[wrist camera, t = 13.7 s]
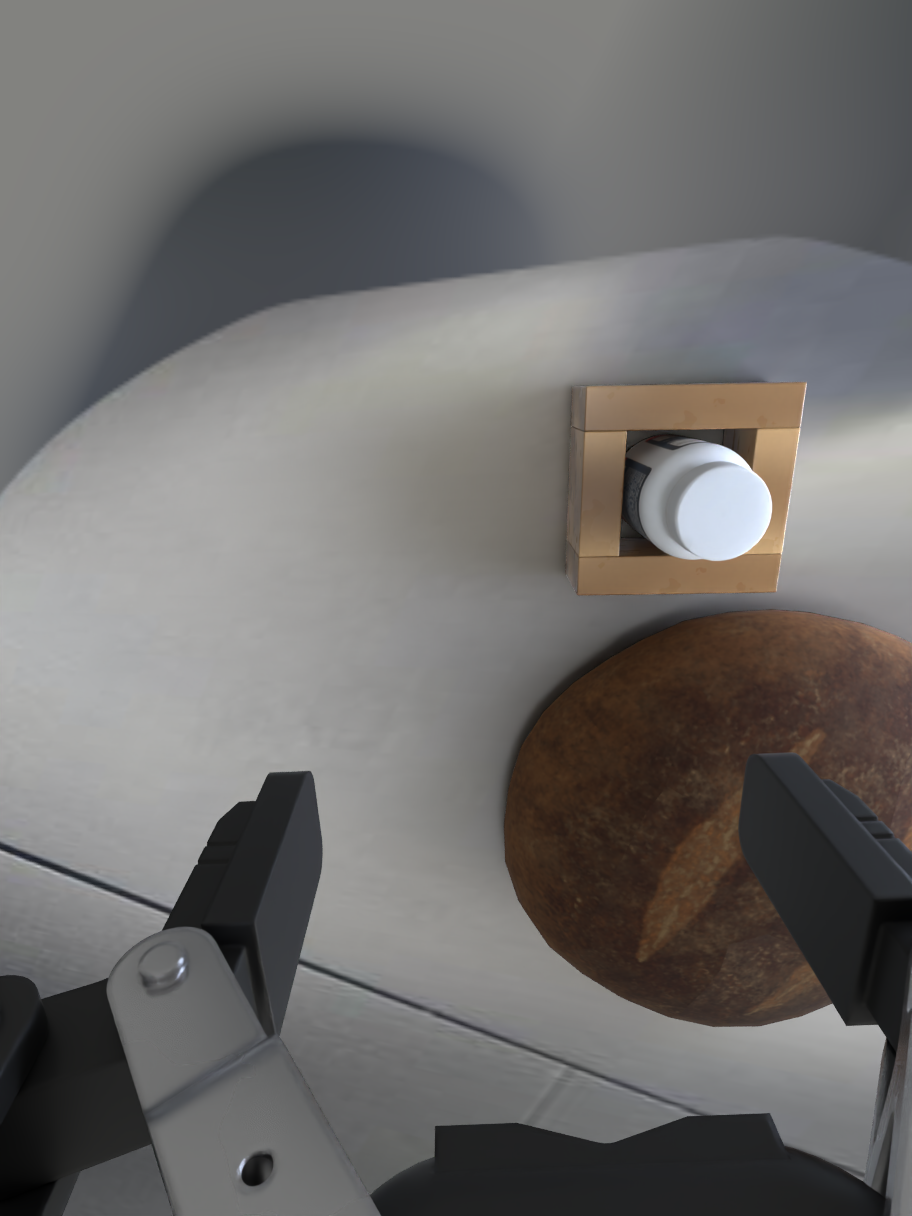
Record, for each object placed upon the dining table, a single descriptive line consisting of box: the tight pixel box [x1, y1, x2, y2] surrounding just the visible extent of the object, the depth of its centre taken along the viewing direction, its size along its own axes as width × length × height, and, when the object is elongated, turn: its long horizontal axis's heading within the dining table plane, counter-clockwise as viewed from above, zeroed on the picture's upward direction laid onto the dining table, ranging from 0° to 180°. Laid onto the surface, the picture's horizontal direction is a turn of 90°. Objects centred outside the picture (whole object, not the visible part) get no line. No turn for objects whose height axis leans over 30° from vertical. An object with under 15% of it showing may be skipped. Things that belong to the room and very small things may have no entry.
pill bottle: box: [622, 434, 772, 561], centre depth 31 cm, size 5×5×9 cm
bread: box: [504, 610, 912, 1027], centre depth 38 cm, size 28×27×9 cm
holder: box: [565, 382, 807, 595], centre depth 33 cm, size 10×10×4 cm
